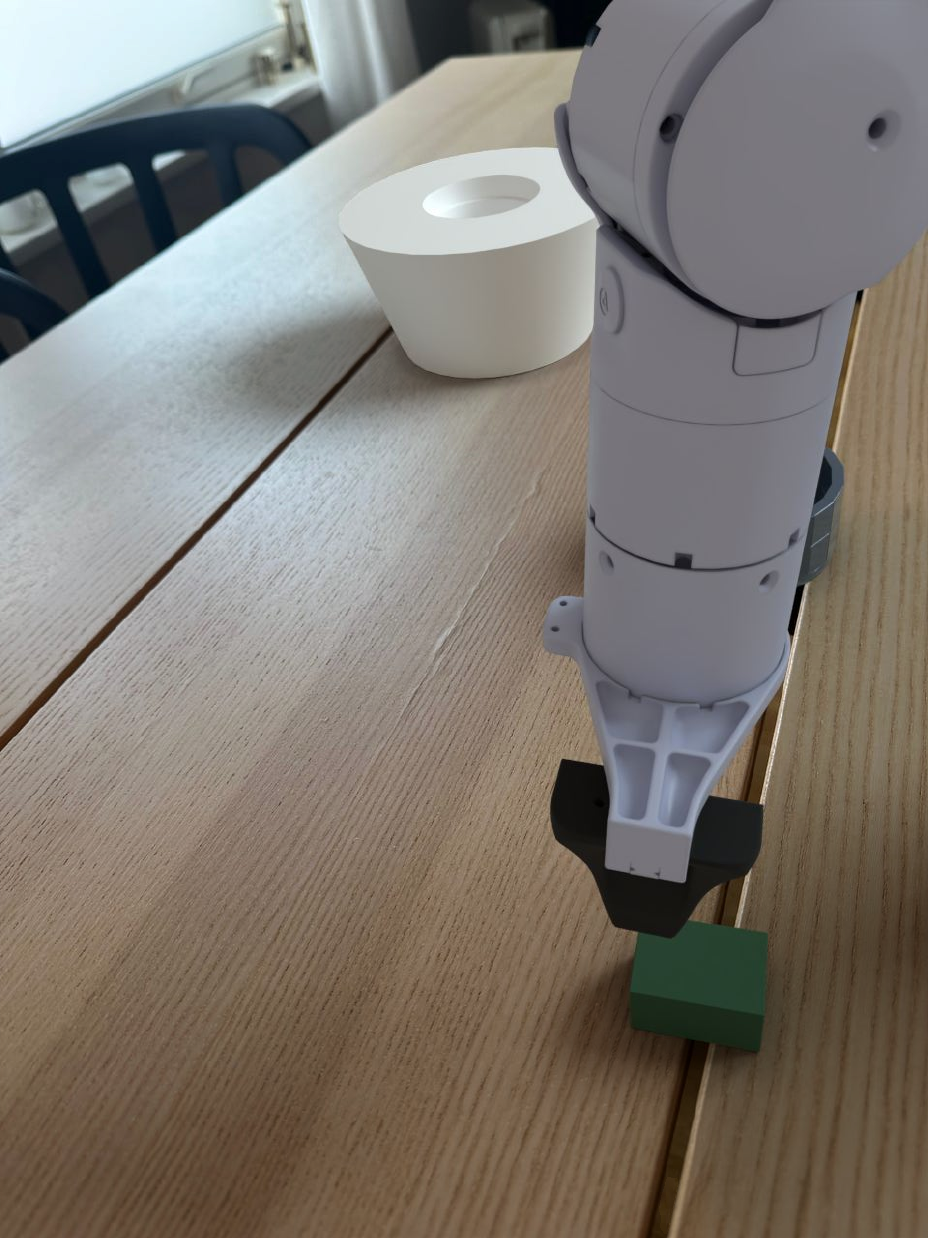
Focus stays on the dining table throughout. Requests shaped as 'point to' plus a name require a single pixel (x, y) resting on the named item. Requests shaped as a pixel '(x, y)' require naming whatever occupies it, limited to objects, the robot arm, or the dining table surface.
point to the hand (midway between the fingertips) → (658, 829)
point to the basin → (823, 518)
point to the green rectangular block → (701, 984)
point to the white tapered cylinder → (479, 260)
